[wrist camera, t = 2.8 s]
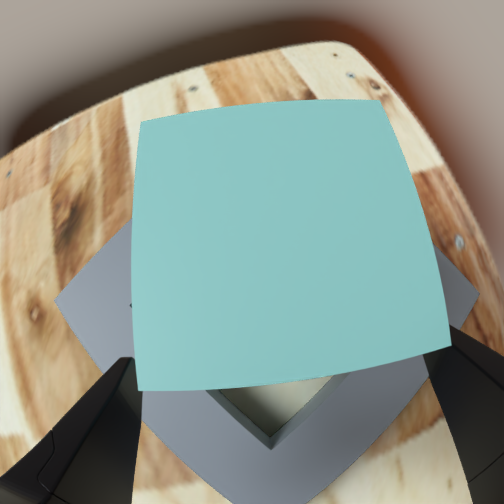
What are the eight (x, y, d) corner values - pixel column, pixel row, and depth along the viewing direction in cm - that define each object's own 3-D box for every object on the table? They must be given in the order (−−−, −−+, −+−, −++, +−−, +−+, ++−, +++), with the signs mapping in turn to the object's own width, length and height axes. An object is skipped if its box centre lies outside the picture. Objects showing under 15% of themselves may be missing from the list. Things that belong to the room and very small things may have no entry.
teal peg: (316, 347, 17) (451, 345, 4) (232, 358, 17) (138, 390, 4) (305, 267, 19) (379, 100, 6) (224, 276, 19) (140, 121, 6)
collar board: (459, 300, 18) (479, 293, 15) (269, 510, 14) (269, 529, 12) (265, 129, 22) (264, 107, 20) (74, 306, 19) (53, 300, 16)
